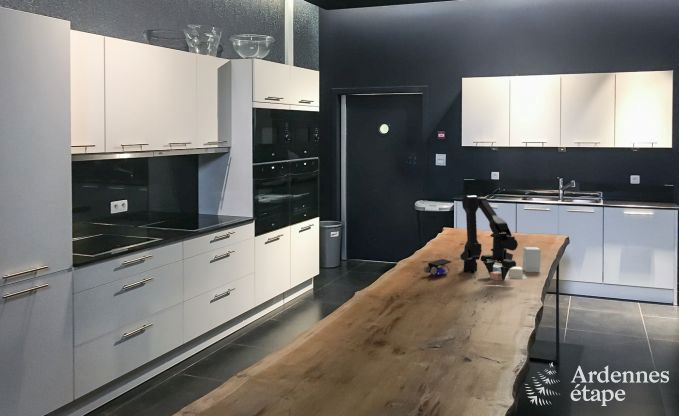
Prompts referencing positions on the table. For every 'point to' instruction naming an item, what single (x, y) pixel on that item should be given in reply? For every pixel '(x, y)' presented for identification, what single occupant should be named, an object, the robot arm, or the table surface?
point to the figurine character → (434, 268)
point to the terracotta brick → (496, 275)
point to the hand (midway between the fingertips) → (497, 278)
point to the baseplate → (516, 277)
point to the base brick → (516, 272)
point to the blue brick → (496, 268)
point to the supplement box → (531, 259)
